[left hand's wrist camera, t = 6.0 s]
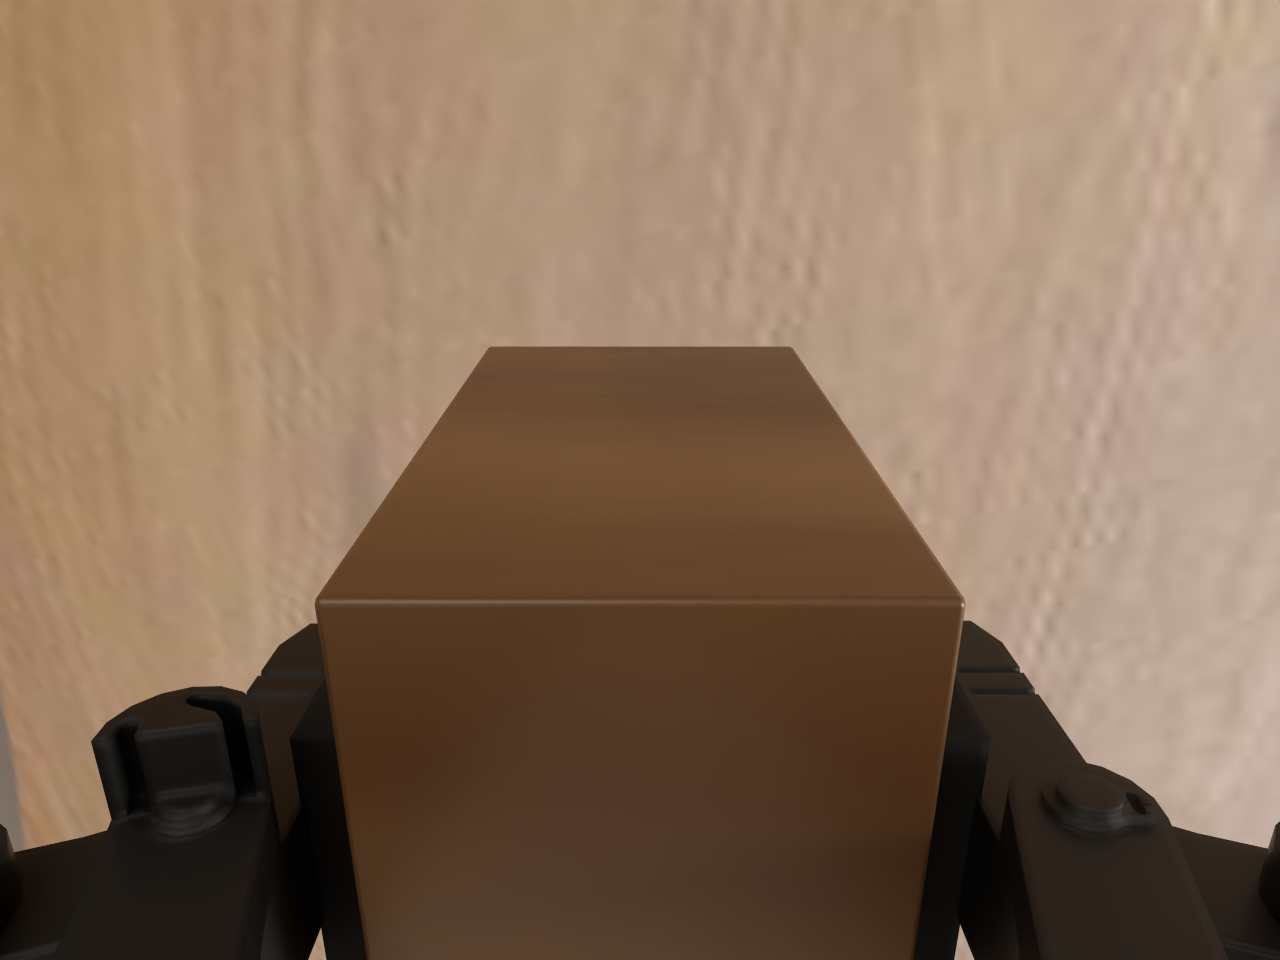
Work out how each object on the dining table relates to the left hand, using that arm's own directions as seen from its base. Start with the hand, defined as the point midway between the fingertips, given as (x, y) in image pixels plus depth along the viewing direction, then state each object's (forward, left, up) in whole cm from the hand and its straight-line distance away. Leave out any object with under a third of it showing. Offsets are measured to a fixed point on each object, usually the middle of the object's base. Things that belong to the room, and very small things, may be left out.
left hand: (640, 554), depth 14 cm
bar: (+9, +2, -1) cm, 10 cm away
